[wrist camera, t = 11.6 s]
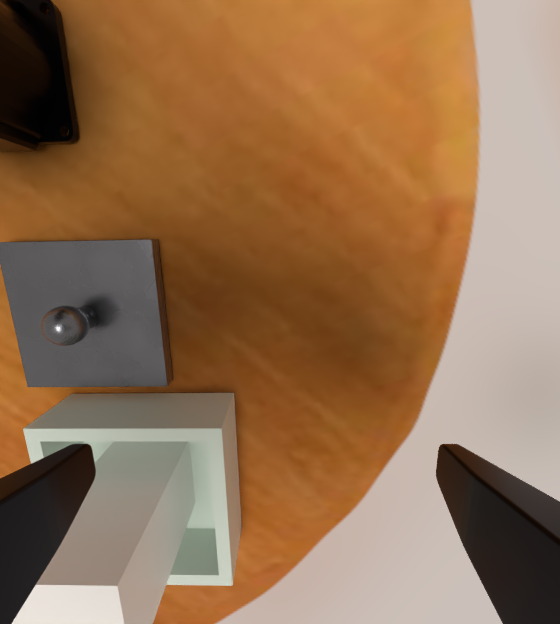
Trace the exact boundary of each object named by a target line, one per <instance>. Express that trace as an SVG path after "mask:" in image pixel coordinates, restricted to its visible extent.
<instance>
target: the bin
mask: <svg viewBox="0 0 560 624" xmlns="http://www.w3.org/2000/svg"><path fill="white" fill-rule="evenodd" d="M23 431H24V435H25V439H26V443H27V448H28V452H29V456H30V461H31V464H32V463H34V462H36V461H38V460H40V459H42V458H44V457H46V456H48V455H50V454H52V453H55V452H57V451H59V450H61V449H63V448H65V447H67V446H69V445H71V444H89V445H90V446H91V447H92V451H93V457H94V462H96V461H97V460H98V459H99V458H100V457H101V455H102V454H103V453H104V452H105V451H106V450H107V448H108V447H109V446H110V445H111V444H112V443H113V441H189V444H190V454H191V465H192V475H193V485H194V495H195V504H194V507H193V510H192V513H191V516H190V519H189V522H188V524H187V527H186V530H185V533H184V536H183V539H182V541H181V544H180V547H179V550H178V553H177V556H176V559H175V561H174V564H173V567H172V570H171V573H170V576H169V579H168V581H167V584H166V585H224V586H233V580H234V573H235V567H236V561H237V555H238V548H239V542H240V536H241V530H242V523H241V505H240V488H239V470H238V453H237V435H236V418H235V400H234V393H93V394H70V395H69V396H68V397H66V398H65V399H64V400H62V401H61V402H59V403H58V404H57V405H55V406H54V407H52V408H51V409H50V410H48V411H47V412H46V413H44V414H43V415H41V416H40V417H39V418H37V419H36V420H34V421H33V422H32V423H30V424H29V425H28V426H26V427H25V428H23Z"/></svg>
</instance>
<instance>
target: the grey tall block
mask: <svg viewBox="0 0 560 624" xmlns="http://www.w3.org/2000/svg"><path fill="white" fill-rule="evenodd" d="M95 468H96V475H95V479H94V482H93V484H92V486H91V488H90V489H89V491H88V493H87V495H86V497H85V499H84V501H83V503H82V505H81V507H80V509H79V511H78V513H77V515H76V517H75V519H74V521H73V523H72V524H71V526H70V528H69V530H68V532H67V534H66V536H65V538H64V539H63V541H62V543H61V545H60V547H59V548H58V550H57V552H56V553H55V555H54V557H53V558H52V560H51V561H50V563H49V565H48V566H47V568H46V569H45V571H44V573H43V574H42V576H41V577H40V579H39V581H38V582H37V584H36V585H35V587H34V589H33V590H32V592H31V593H30V595H29V597H28V598H27V600H26V601H25V603H24V605H23V606H22V608H21V609H20V611H19V613H18V614H17V616H16V617H15V619H14V621H13V622H12V624H153V621H154V618H155V616H156V613H157V610H158V607H159V604H160V601H161V598H162V596H163V593H164V590H165V587H166V584H167V581H168V579H169V576H170V573H171V570H172V567H173V564H174V561H175V559H176V556H177V553H178V550H179V547H180V544H181V541H182V539H183V536H184V533H185V530H186V527H187V524H188V522H189V519H190V516H191V513H192V510H193V507H194V504H195V495H194V485H193V475H192V465H191V454H190V444H189V441H113V443H112V444H111V445H110V446H109V447H108V448H107V450H106V451H105V452H104V453H103V454H102V455H101V457H100V458H99V459H98V460H97V461H96V462H95Z"/></svg>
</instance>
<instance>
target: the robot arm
mask: <svg viewBox="0 0 560 624" xmlns="http://www.w3.org/2000/svg"><path fill="white" fill-rule="evenodd" d="M49 8H50V12H49V13H48V14H47V15H46V10H47V9H49ZM66 129H68V130H69V134H68V135H67V136H65V130H66ZM77 138H78V129H77V123H76V116H75V109H74V103H73V96H72V90H71V83H70V76H69V70H68V63H67V56H66V50H65V43H64V37H63V30H62V23H61V17H60V12H59V9H58V8H57V7H56V5H55V4H54V3H53V2H52V1H51V0H0V152H11V151H36V150H37V149H38V148H39V145H40V144H71V143H74V142H75V141H77ZM95 475H96V468H95V462H94V457H93V451H92V447H91V446H90V445H89V444H71V445H69V446H67V447H65V448H63V449H61V450H59V451H57V452H55V453H52V454H50V455H48V456H46V457H44V458H42V459H40V460H38V461H36V462H34V463H32V464H30V465H28V466H25V467H23V468H21V469H19V470H17V471H15V472H13V473H11V474H9V475H7V476H5V477H3V478H0V624H12V622H13V621H14V619H15V617H16V616H17V614H18V613H19V611H20V609H21V608H22V606H23V605H24V603H25V601H26V600H27V598H28V597H29V595H30V593H31V592H32V590H33V589H34V587H35V585H36V584H37V582H38V581H39V579H40V577H41V576H42V574H43V573H44V571H45V569H46V568H47V566H48V565H49V563H50V561H51V560H52V558H53V557H54V555H55V553H56V552H57V550H58V548H59V547H60V545H61V543H62V541H63V539H64V538H65V536H66V534H67V532H68V530H69V528H70V526H71V524H72V523H73V521H74V519H75V517H76V515H77V513H78V511H79V509H80V507H81V505H82V503H83V501H84V499H85V497H86V495H87V493H88V491H89V489H90V488H91V486H92V484H93V482H94V479H95ZM436 477H437V481H438V484H439V487H440V489H441V491H442V494H443V496H444V499H445V501H446V504H447V507H448V509H449V512H450V514H451V516H452V519H453V521H454V524H455V527H456V529H457V532H458V534H459V536H460V539H461V541H462V543H463V546H464V548H465V550H466V552H467V554H468V556H469V558H470V560H471V562H472V564H473V566H474V568H475V570H476V572H477V574H478V576H479V578H480V580H481V582H482V584H483V586H484V588H485V590H486V592H487V594H488V596H489V597H490V599H491V601H492V603H493V605H494V607H495V609H496V611H497V613H498V615H499V617H500V619H501V621H502V623H503V624H560V502H559V501H557V500H556V499H554V498H552V497H550V496H549V495H547V494H545V493H543V492H542V491H540V490H538V489H536V488H534V487H532V486H531V485H529V484H527V483H525V482H524V481H522V480H520V479H518V478H516V477H515V476H513V475H511V474H510V473H508V472H506V471H504V470H503V469H501V468H499V467H497V466H495V465H494V464H492V463H490V462H488V461H487V460H485V459H483V458H481V457H479V456H478V455H476V454H474V453H472V452H471V451H469V450H467V449H465V448H464V447H462V446H460V445H458V444H442V445H440V447H439V451H438V459H437V469H436Z"/></svg>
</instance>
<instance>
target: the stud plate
mask: <svg viewBox="0 0 560 624" xmlns="http://www.w3.org/2000/svg"><path fill="white" fill-rule="evenodd" d="M0 264H1V269H2V273H3V278H4V282H5V287H6V291H7V296H8V300H9V305H10V309H11V314H12V318H13V323H14V327H15V332H16V336H17V341H18V345H19V350H20V354H21V359H22V363H23V368H24V372H25V377H26V381H27V386H28V387H126V386H168V385H169V384H170V382H171V381H172V380H173V374H172V365H171V355H170V346H169V336H168V327H167V317H166V308H165V298H164V289H163V279H162V270H161V260H160V251H159V241H158V239H157V240H104V241H51V242H0Z"/></svg>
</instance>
